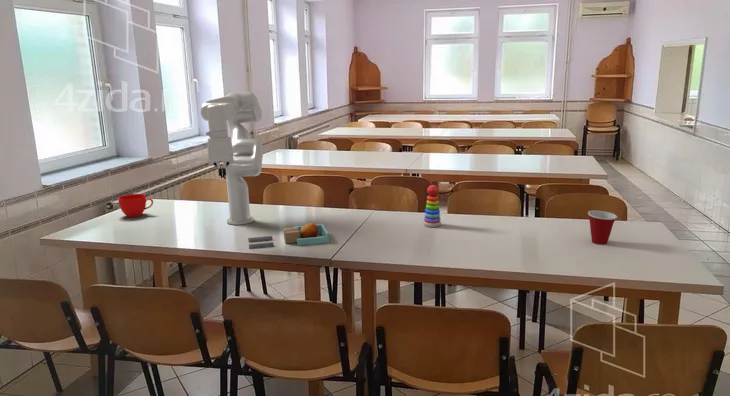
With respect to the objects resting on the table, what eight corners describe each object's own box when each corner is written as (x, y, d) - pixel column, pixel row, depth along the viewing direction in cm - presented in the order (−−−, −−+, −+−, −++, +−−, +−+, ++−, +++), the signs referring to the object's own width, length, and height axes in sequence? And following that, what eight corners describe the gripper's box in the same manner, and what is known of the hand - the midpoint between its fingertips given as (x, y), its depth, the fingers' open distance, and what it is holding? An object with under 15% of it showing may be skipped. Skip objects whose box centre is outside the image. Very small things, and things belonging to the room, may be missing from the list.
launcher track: (248, 241, 229) (248, 238, 229) (272, 239, 231) (272, 235, 231) (249, 248, 220) (248, 245, 219) (273, 246, 222) (273, 242, 222)
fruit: (321, 238, 226) (311, 222, 225) (306, 247, 227) (295, 232, 226) (323, 232, 234) (313, 217, 232) (308, 241, 235) (298, 226, 234)
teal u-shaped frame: (293, 235, 236) (293, 226, 235) (323, 232, 238) (323, 224, 237) (297, 245, 222) (296, 236, 221) (329, 242, 225) (328, 233, 224)
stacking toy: (421, 226, 243) (421, 186, 239) (426, 222, 250) (426, 182, 246) (438, 228, 240) (438, 187, 236) (442, 223, 247) (443, 183, 243)
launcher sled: (284, 238, 231) (283, 228, 230) (299, 236, 232) (298, 227, 231) (285, 243, 224) (284, 233, 223) (301, 241, 226) (300, 231, 225)
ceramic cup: (149, 218, 270) (147, 199, 267) (116, 219, 270) (113, 200, 268) (159, 212, 282) (157, 193, 280) (127, 212, 283) (125, 194, 280)
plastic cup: (612, 248, 208) (615, 218, 205) (583, 244, 214) (585, 215, 211) (616, 240, 217) (619, 211, 214) (588, 236, 223) (590, 208, 220)
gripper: (199, 136, 220) (204, 180, 224) (237, 134, 223) (240, 177, 228) (200, 134, 227) (204, 177, 231) (236, 132, 230) (240, 174, 235)
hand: (222, 177), depth 229 cm, fingers closed
